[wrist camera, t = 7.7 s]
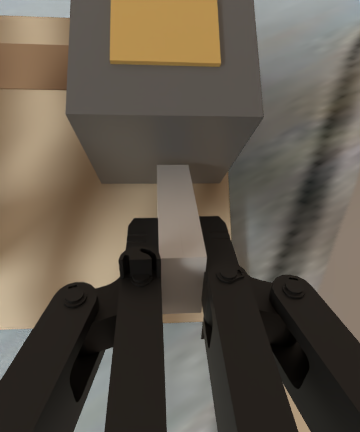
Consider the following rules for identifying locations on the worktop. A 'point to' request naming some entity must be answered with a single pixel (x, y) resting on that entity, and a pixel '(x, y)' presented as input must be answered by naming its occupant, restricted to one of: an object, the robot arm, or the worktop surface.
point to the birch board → (60, 183)
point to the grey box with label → (163, 85)
